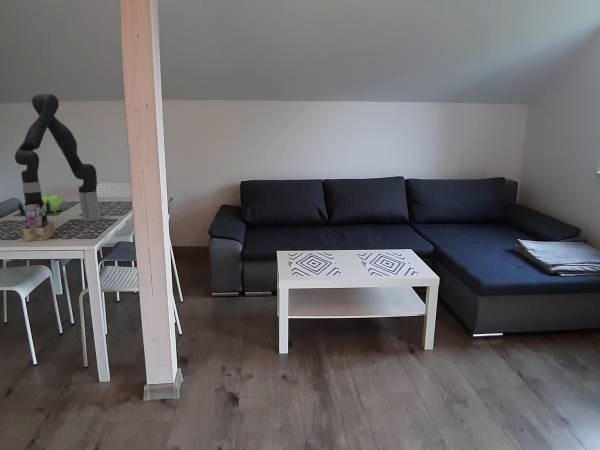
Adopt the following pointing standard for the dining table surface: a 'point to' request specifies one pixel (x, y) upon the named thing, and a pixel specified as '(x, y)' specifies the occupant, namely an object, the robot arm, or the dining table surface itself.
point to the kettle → (53, 202)
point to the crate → (38, 232)
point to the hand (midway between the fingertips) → (37, 222)
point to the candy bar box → (35, 216)
